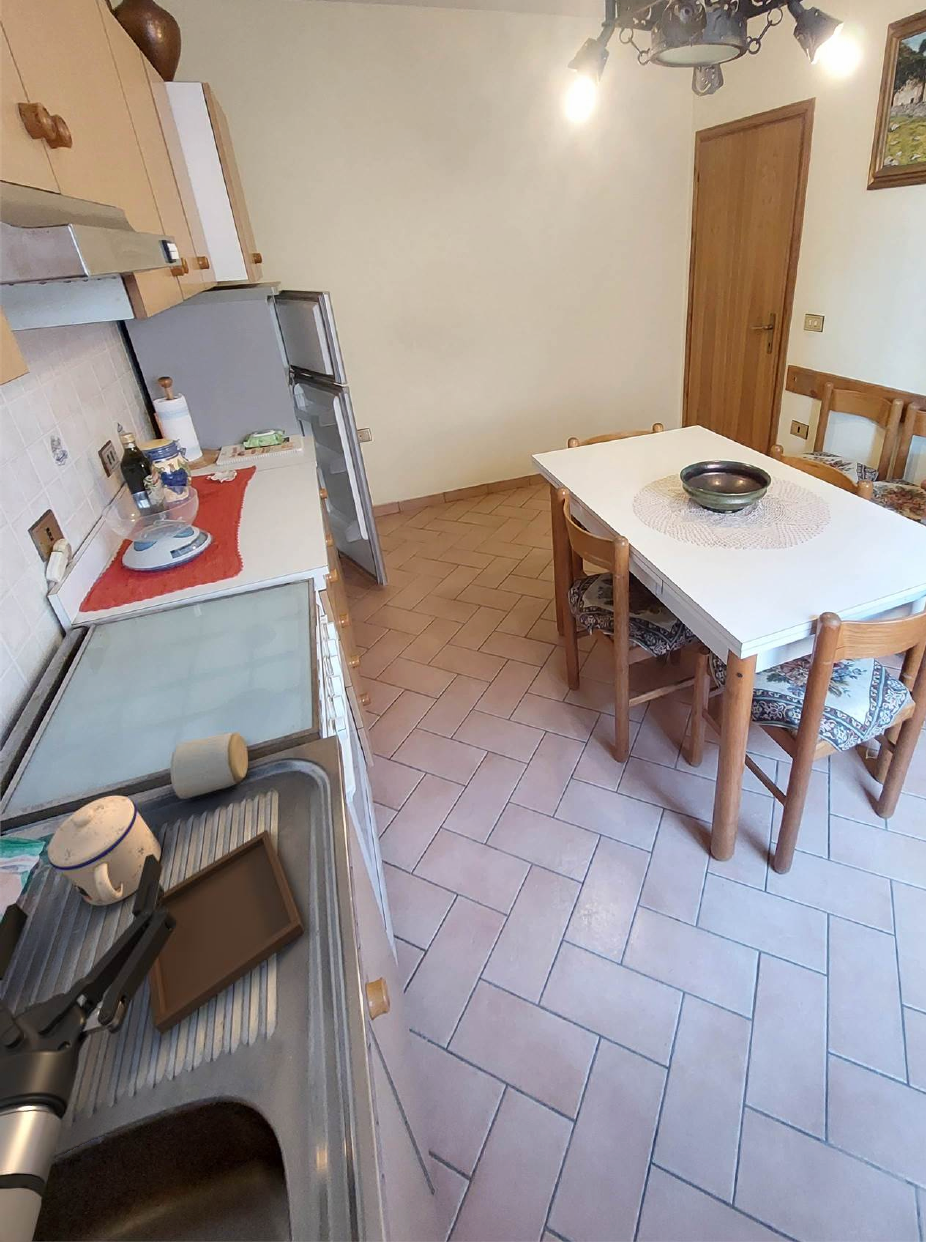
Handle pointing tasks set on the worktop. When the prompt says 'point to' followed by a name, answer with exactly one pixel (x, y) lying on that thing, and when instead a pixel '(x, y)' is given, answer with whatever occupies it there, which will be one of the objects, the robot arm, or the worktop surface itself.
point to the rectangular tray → (221, 928)
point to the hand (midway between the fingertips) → (88, 885)
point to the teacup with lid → (103, 849)
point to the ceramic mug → (208, 764)
